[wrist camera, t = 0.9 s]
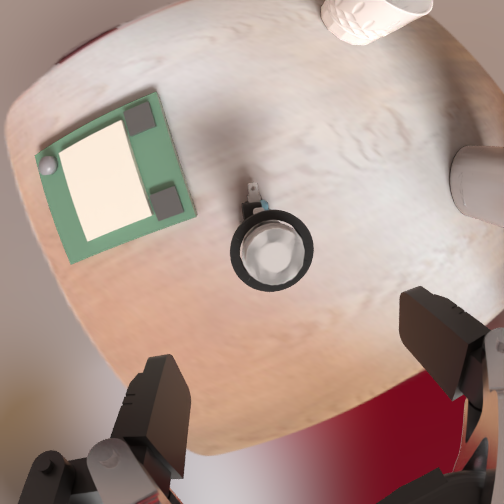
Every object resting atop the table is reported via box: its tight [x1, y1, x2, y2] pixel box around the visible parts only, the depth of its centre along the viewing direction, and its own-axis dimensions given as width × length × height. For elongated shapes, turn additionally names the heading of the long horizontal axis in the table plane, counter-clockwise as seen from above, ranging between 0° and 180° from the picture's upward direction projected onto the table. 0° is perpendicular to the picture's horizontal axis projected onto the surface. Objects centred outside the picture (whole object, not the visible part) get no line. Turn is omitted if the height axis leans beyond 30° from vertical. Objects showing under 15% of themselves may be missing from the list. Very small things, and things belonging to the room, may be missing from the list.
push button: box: [230, 182, 314, 292], centre depth 22 cm, size 7×5×10 cm
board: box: [35, 92, 197, 264], centre depth 23 cm, size 14×12×2 cm
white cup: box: [321, 0, 433, 45], centre depth 16 cm, size 8×8×10 cm
